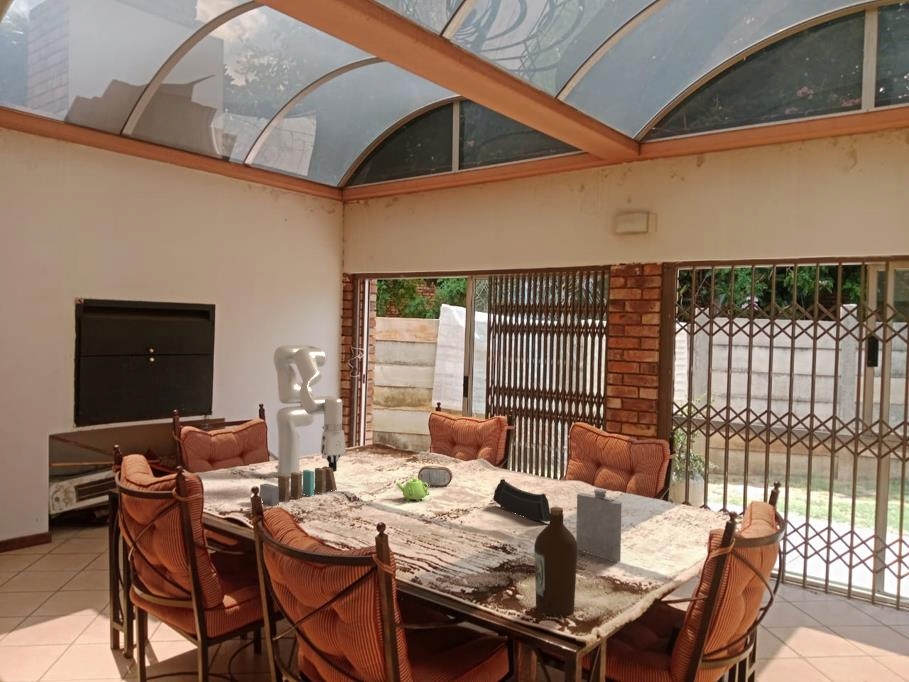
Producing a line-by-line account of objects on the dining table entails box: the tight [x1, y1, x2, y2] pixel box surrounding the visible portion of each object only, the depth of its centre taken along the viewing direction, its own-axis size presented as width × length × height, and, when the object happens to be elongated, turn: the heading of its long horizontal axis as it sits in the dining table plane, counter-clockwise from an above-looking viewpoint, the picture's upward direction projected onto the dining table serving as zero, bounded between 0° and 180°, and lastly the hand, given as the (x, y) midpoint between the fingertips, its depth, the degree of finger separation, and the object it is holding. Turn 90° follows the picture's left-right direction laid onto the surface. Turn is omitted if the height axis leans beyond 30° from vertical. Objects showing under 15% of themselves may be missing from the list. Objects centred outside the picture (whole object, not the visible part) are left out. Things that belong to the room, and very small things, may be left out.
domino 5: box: [321, 466, 338, 492], centre depth 293 cm, size 2×5×10 cm, turn 49°
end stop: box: [259, 482, 280, 507], centre depth 270 cm, size 8×3×7 cm, turn 49°
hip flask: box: [575, 488, 623, 562], centre depth 215 cm, size 16×4×20 cm, turn 41°
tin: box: [417, 465, 453, 487], centre depth 305 cm, size 15×3×8 cm, turn 84°
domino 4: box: [314, 467, 327, 494], centre depth 289 cm, size 2×5×10 cm, turn 49°
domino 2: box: [290, 472, 303, 500], centre depth 280 cm, size 2×5×10 cm, turn 49°
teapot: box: [396, 477, 430, 502], centre depth 280 cm, size 11×12×8 cm
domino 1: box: [277, 474, 290, 503], centre depth 275 cm, size 2×5×10 cm, turn 49°
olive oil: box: [533, 506, 579, 617], centre depth 172 cm, size 11×11×25 cm
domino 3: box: [302, 469, 315, 497], centre depth 284 cm, size 2×5×10 cm, turn 49°
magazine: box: [492, 478, 551, 523], centre depth 259 cm, size 17×3×30 cm
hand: (332, 471), depth 294 cm, fingers closed
